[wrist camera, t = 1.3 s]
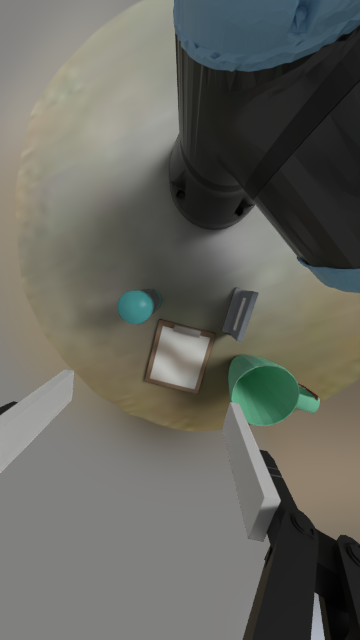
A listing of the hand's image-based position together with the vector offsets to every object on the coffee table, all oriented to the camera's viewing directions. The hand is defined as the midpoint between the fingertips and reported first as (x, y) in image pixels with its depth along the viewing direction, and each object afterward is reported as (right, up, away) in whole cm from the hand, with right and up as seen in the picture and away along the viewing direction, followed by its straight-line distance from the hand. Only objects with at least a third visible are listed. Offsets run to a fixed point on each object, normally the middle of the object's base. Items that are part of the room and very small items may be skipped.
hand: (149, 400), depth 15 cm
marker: (-3, +10, +18) cm, 21 cm away
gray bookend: (+13, +8, +19) cm, 24 cm away
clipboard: (+2, -1, +20) cm, 21 cm away
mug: (+17, -3, +21) cm, 27 cm away
